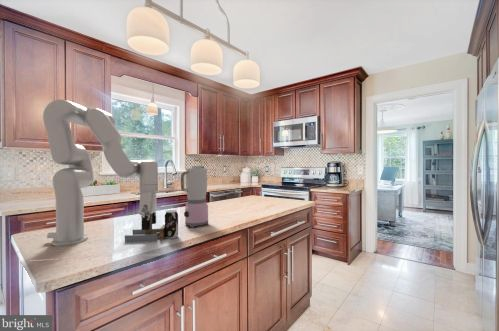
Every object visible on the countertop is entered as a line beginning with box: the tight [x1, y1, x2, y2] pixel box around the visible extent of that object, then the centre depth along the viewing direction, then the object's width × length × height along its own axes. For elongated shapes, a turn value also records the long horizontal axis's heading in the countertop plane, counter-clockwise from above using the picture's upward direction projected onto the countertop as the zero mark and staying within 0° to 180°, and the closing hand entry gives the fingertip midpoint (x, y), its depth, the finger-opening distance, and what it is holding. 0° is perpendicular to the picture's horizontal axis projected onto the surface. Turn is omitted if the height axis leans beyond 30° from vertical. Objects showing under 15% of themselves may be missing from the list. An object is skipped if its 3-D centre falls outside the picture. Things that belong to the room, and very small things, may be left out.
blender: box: [180, 165, 209, 229], centre depth 127 cm, size 16×12×32 cm
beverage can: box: [164, 209, 179, 240], centre depth 107 cm, size 6×6×12 cm
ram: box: [145, 215, 166, 241], centre depth 106 cm, size 8×7×10 cm
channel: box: [124, 228, 160, 243], centre depth 105 cm, size 13×10×3 cm
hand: (149, 226), depth 106 cm, fingers open, 9 cm apart
